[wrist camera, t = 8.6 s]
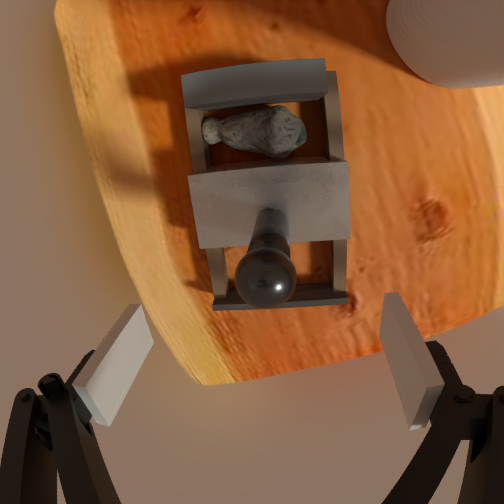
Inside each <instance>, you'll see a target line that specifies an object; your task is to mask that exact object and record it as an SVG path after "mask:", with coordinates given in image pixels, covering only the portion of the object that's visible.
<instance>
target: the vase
mask: <svg viewBox="0 0 504 504" xmlns="http://www.w3.org/2000/svg"><path fill="white" fill-rule="evenodd" d="M386 27H387V32H388V35H389V38H390V40H391V43H392V45H393V47H394V49H395V50H396V52H397V53H398V55H399V56H400V58H401V59H402V60H403V61H404V63H405V64H406V65H407V66H408V67H409V68H410V69H411V70H412V71H413V72H414V73H416V74H417V75H418V76H420V77H421V78H422V79H424V80H426V81H427V82H429V83H432V84H434V85H436V86H440V87H443V88H451V89H464V88H479V87H488V86H499V85H504V0H390V1H389V4H388V7H387V10H386Z"/></svg>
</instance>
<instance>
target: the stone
mask: <svg viewBox="0 0 504 504" xmlns="http://www.w3.org/2000/svg"><path fill="white" fill-rule="evenodd" d="M202 135H203V138H204V140H205V141H206V142H207V143H208V144H215V143H218V142H224V143H225V144H227V145H228V146H230V147H231V148H234V149H238V150H243V151H252V152H257V153H261V154H263V155H265V156H268V157H271V158H273V159H279V160H280V159H285V158H286V157H287V156H288V155H289V154H290V153H291V152H292V151H293V150H295V149H296V148H297V147H299V146H300V145H302V144H304V143H305V142H306V140H307V133H306V129H305V126H304V123H303V122H302V121H301V120H300V119H299V118H298V117H296V116H295V115H293V114H292V113H290V111H289V110H288V109H287V108H285V107H284V106H280V105H276V106H272V107H268V108H264V109H261V110H255V111H248V112H243V113H239V114H235V115H232V116H229V117H227V118H225V119H217V118H213V117H210V118H207V119H206V120H205V121H204V122H203V124H202Z"/></svg>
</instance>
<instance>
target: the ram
mask: <svg viewBox="0 0 504 504" xmlns="http://www.w3.org/2000/svg"><path fill="white" fill-rule="evenodd" d="M188 182H189V188H190V195H191V201H192V207H193V213H194V219H195V225H196V231H197V236H198V242H199V248H200V249H206V248H220V247H235V246H249V247H248V251H247V254H246V255H245V256H244V257H243V258H242V259H241V260H240V262H239V264H238V265H237V268H236V271H235V285H236V289H237V291H238V293H239V295H240V296H241V298H242V299H243V300H244V301H245V302H246V303H248V304H249V305H251V306H253V307H255V308H259V309H272V308H276V307H278V306H280V305H282V304H284V303H285V302H286V301H287V300H288V299H289V298H290V297H291V295H292V294H293V292H294V290H295V287H296V282H297V275H296V270H295V267H294V264H293V263H292V261H291V260H290V243H295V242H310V241H326V240H342V239H350V194H349V170H348V162H347V161H345V160H334V161H329V160H327V159H326V158H325V157H324V156H311V157H295V158H285V159H280V160H279V159H270V160H258V161H248V162H238V163H229V164H221V165H214V166H213V167H211V168H209V169H208V170H206V171H204V172H197V173H192V174H190V175H188Z"/></svg>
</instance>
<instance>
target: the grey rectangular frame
mask: <svg viewBox="0 0 504 504" xmlns="http://www.w3.org/2000/svg"><path fill="white" fill-rule="evenodd" d="M181 82H182V92H183V100H184V108H185V116H186V124H187V132H188V139H189V147H190V154H191V161H192V168H193V173H197V172H204V171H206V170H208V169H209V168H211V167H212V166H211V159H210V151H209V144H208V143H207V142H206V141H205V140H204V138H203V135H202V124H203V122H204V121H205V112H204V111H208V112H210V111H216V110H223V109H230V108H238V107H246V106H255V105H264V104H275V103H288V102H303V101H318V100H319V99H320V98H322V107H323V117H324V128H325V139H326V152H327V160H329V161H334V160H344V149H343V135H342V123H341V112H340V102H339V93H338V84H337V76H336V71H326V66H325V59H324V58H319V59H296V60H281V61H270V62H260V63H251V64H243V65H235V66H229V67H222V68H216V69H210V70H204V71H199V72H194V73H189V74H184V75H181ZM206 255H207V260H208V266H209V271H210V277H211V282H212V288H213V293H214V298H215V299H214V301H213V304H212V307H213V311H218V310H250V309H259V308H255V307H253V306H251V305H249V304H248V303H246V302H245V301H244V300H243V299H242V298H241V296H240V295H239V293H238V291H237V289H236V288H230V287H229V281H228V275H227V268H226V262H225V256H224V249H223V247H220V248H206ZM346 262H347V239H342V240H331V283H317V284H302V285H296V287H295V290H294V292H293V294H292V295H291V297H290V298H289V299H288V300H287V301H286V302H285V303H284V304H282V305H280V306H278V307H276V308H292V307H309V306H324V305H337V304H348V297H347V294H346ZM272 309H273V308H272Z"/></svg>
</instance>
